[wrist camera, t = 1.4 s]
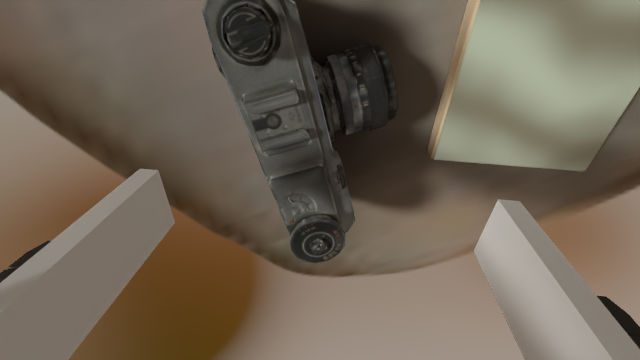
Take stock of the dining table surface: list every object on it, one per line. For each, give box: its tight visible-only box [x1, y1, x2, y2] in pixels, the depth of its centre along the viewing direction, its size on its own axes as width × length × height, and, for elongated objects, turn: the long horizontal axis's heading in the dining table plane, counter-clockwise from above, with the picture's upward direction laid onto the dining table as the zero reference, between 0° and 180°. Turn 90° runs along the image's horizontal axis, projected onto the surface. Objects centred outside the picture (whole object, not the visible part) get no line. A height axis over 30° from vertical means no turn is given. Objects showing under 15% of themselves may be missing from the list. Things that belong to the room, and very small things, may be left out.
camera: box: [202, 0, 397, 263], centre depth 19 cm, size 18×9×10 cm, turn 15°
